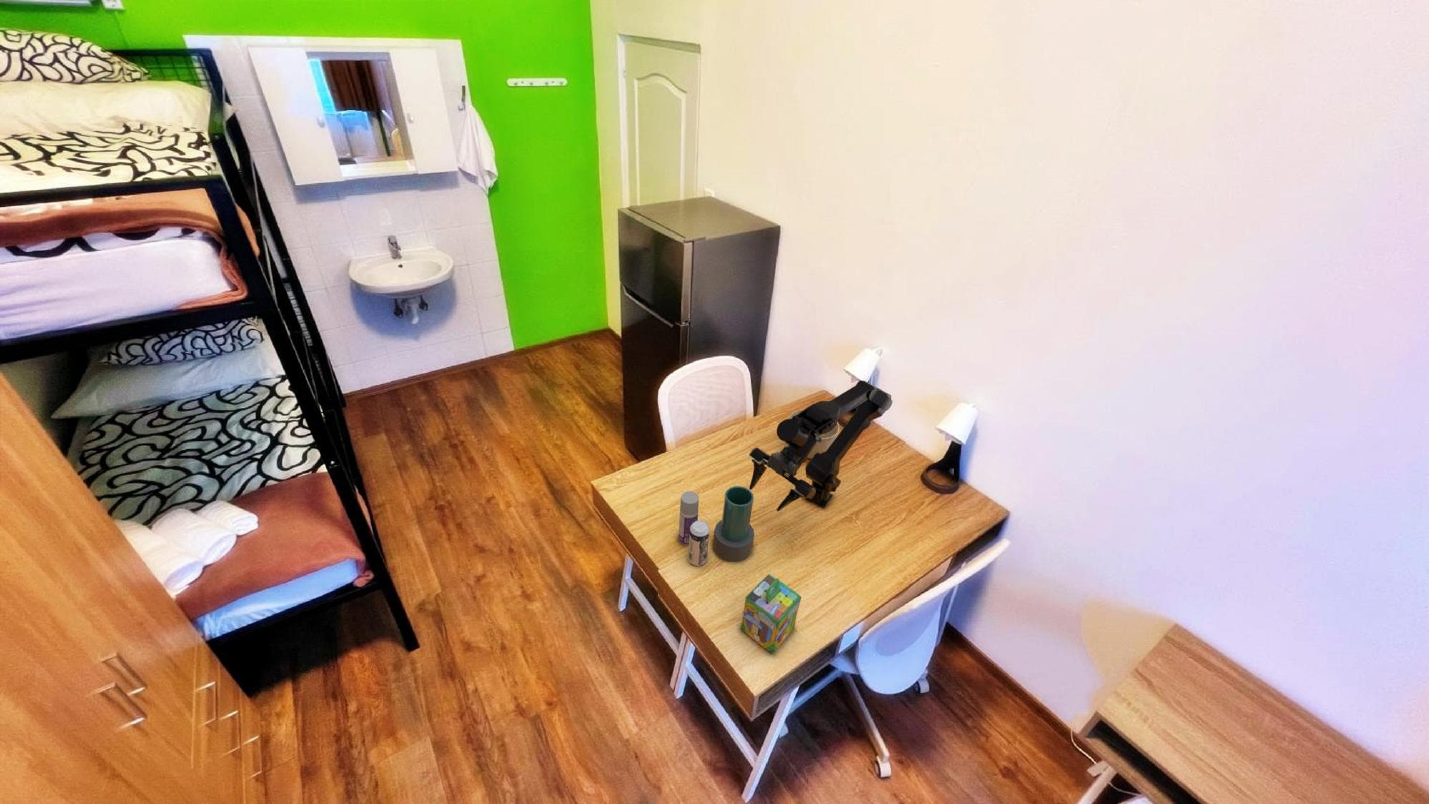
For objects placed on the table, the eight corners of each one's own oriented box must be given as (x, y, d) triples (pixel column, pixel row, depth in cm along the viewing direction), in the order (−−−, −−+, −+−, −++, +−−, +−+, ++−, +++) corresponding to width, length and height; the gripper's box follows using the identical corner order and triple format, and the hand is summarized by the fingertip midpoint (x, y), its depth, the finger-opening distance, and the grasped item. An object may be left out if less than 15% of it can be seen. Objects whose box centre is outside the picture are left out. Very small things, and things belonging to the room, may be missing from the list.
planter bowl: (836, 467, 175) (843, 440, 169) (786, 464, 175) (791, 436, 169) (828, 436, 189) (834, 410, 183) (781, 433, 188) (786, 407, 182)
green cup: (745, 521, 146) (751, 485, 139) (750, 541, 140) (755, 505, 133) (719, 521, 145) (723, 486, 138) (722, 542, 139) (726, 506, 132)
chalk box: (772, 655, 121) (781, 613, 112) (739, 629, 125) (746, 587, 117) (795, 627, 127) (806, 586, 118) (763, 603, 131) (771, 562, 123)
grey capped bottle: (704, 568, 139) (707, 535, 132) (686, 564, 139) (688, 531, 133) (708, 554, 143) (711, 521, 136) (690, 550, 143) (692, 517, 137)
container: (698, 535, 148) (702, 493, 139) (692, 548, 144) (695, 506, 136) (682, 530, 149) (684, 488, 140) (675, 542, 145) (677, 500, 137)
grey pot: (726, 526, 151) (727, 511, 148) (758, 543, 147) (761, 528, 144) (705, 549, 144) (706, 534, 141) (739, 568, 140) (741, 553, 137)
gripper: (759, 424, 139) (724, 475, 140) (819, 466, 130) (781, 521, 131) (773, 432, 149) (741, 480, 149) (830, 472, 140) (795, 522, 141)
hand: (763, 500), depth 142 cm, fingers open, 9 cm apart
